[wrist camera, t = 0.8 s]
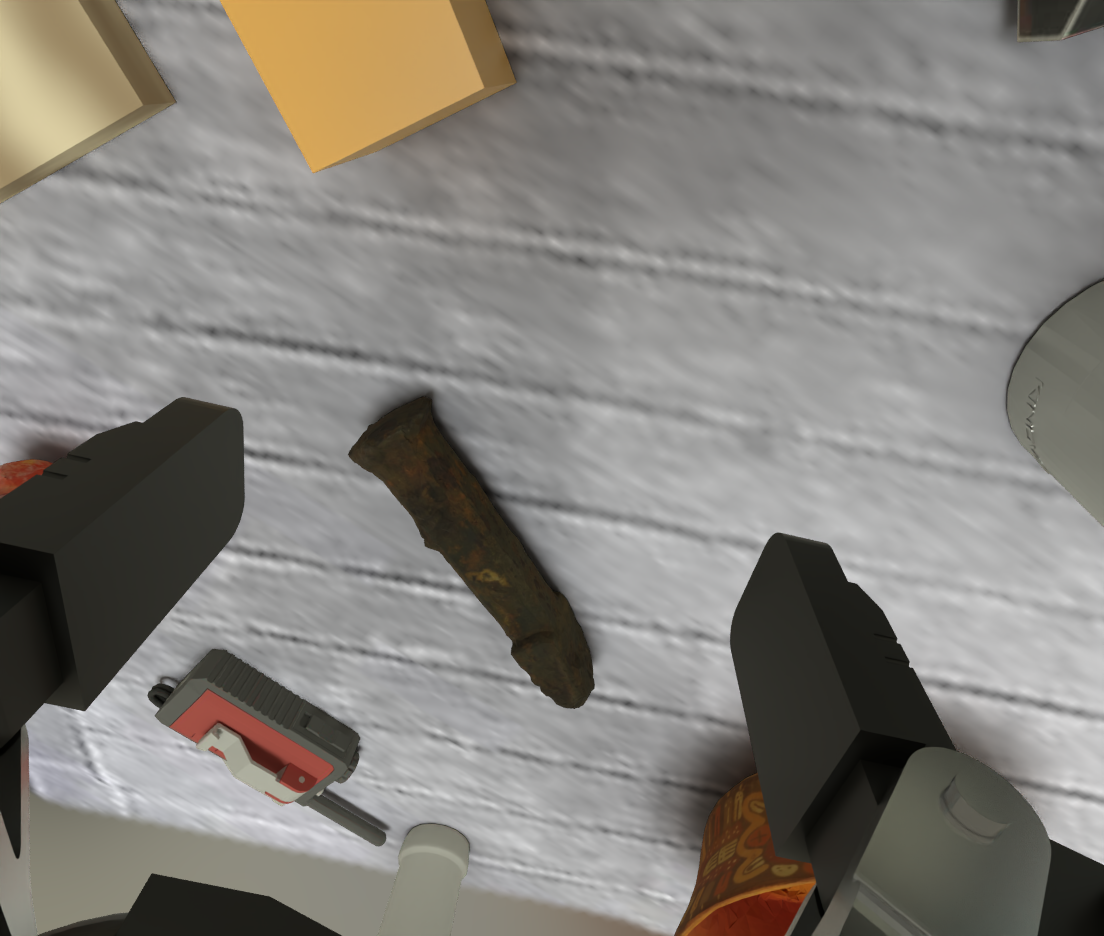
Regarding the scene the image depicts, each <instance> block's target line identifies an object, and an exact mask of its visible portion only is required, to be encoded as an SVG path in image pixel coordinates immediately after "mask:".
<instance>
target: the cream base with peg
mask: <svg viewBox="0 0 1104 936" xmlns="http://www.w3.org/2000/svg"><path fill="white" fill-rule="evenodd" d="M174 103H176V102H175V100H174V98H173V97H172V95H171V93H170V92H169V90H168V88H167V87H166V85H165V83H164V82H163V80H162V78H161V77H160V75H159V73H158V72H157V70H156V68H155V67H154V65H153V63H152V62H151V60H150V58H149V57H148V55H147V53H146V52H145V50H144V48H143V47H142V45H141V43H140V42H139V40H138V38H137V37H136V35H135V33H134V32H133V30H132V28H131V27H130V25H129V23H128V22H127V20H126V18H125V17H124V15H123V13H122V12H121V10H120V8H119V7H118V5H117V3H116V2H115V0H0V203H2V202H4V201H5V200H7V199H9V198H11V197H12V196H14V195H16V194H18V193H19V192H21V191H23V190H25V189H26V188H28V187H30V186H32V185H33V184H35V183H37V182H39V181H40V180H42V179H44V178H45V177H47V176H49V175H51V174H52V173H54V172H56V171H58V170H59V169H61V168H63V167H65V166H66V165H68V164H70V163H72V162H73V161H75V160H77V159H78V158H80V157H82V156H84V155H85V154H87V153H89V152H91V151H92V150H94V149H96V148H98V147H99V146H101V145H103V144H105V143H106V142H108V141H110V140H112V139H113V138H115V137H117V136H118V135H120V134H122V133H124V132H125V131H127V130H129V129H131V128H132V127H134V126H136V125H138V124H139V123H141V122H143V121H145V120H146V119H148V118H150V117H151V116H153V115H155V114H157V113H158V112H160V111H162V110H164V109H165V108H167V107H169V106H171V105H172V104H174Z"/></svg>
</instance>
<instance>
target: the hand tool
mask: <svg viewBox="0 0 1104 936" xmlns="http://www.w3.org/2000/svg"><path fill="white" fill-rule="evenodd" d="M431 406H432V399H430V398H426V397H421V398H418V399H416V400H414V401H413V402H411V403H408V404H406V405H403V406H401V407H399V408H397V409H395V410H393V411H392V412H390V413H388V414H387V415H385V416H384V417H382V418H381V419H380V420H378V422H376V423H375V424H371V425H369V426H368V428H367V430H366V431H365V432H364V433H363V434H362V435H361V437H360V438H359V440H358V441H357V442H356V443H355V444H354V446H353V447H352V448H351V450H350V451H349V454H348V455H349V457H350V458H351V459H352V460H353V461H354V462H355V463H357V464H358V465H360V466H361V467H362V468H363V469H365V470H367V471H368V472H372V473H373V474H374V475H375V476H376V477H378V478H379V479H380V480H382V481H383V482H384V483H385V485H386V486H387V487H388V488H389V490H390V491H391V493H392V494H393V495H394V496H395V497H396V498H397V500H398V501H399V502H400V503H401V505H403V506H404V508H405V509H406V510H407V511H408V512H409V514H410V515H411V516H412V518H413V519H414V521H415V523H416V526H417V527H418V529H419V532H420V534H421V537H422V538H424V544H425V546H426V547H427V548H430V549H433V550H436V551H439V552H440V553H441V554H442V555H443V556H444V558H445V559H446V561H447V562H448V563H449V564H450V565H451V566H452V567H453V569H454V570H455V571H456V572H457V574H458V575H459V576H460V577H461V578H462V579H463V581H464V582H465V584H466V585H467V586H468V588H469V589H470V590H471V591H472V592H473V593H474V594H475V596H476V597H477V598H478V600H479V601H480V602H481V603H482V605H483V606H484V607H485V608H486V609H487V610H488V611H489V612H490V614H491V615H492V616H493V617H494V618H495V619H496V621H497V622H498V623H499V624H500V626H501V627H502V628H503V630H504V631H505V633H506V635H507V636H508V637H509V638H510V639H511V640H512V644H513V645H512V648H511V655H512V656H513V658H514V659H515V660H516V662H517V663H518V664H519V666H520V667H521V668H522V669H524V670H525V671H526V672H527V673H528V674H529V675H530V677H531V681H532V682H533V683H534V684H535V685H537V686H540V689H541V692H542V693H544V694H545V695H546V696H549V697H551V698H552V699H553V700H554V702H555V703H556V704H557V705H559V706H562V707H564V708H570V709H572V708H573V709H575V708H580V707H581V706H582V705H584V703H585V702H586V700H587V698H588V697H589V695H590V693H591V691H592V690H593V689H594V686H595V684H594V679H593V665H592V660H591V655H590V651H589V648H588V646H587V642H586V640H585V638H584V635H583V631H582V629H581V627H580V625H579V624H578V623H577V621H576V619H575V617H574V614H573V612H572V610H571V608H570V606H569V603H568V601H567V600H566V598H565V597H564V595H563V594H561V593H560V592H556V591H552V590H551V588H550V587H549V586H548V585H547V584H546V582H545V581H544V579H543V578H542V576H541V575H540V573H539V571H538V570H537V568H536V567H535V565H534V564H533V562H532V561H531V560H530V558H529V557H528V555H527V554H526V552H525V551H524V549H523V546H522V544H521V543H520V541H519V540H518V538H517V537H516V536H515V535H514V534H513V533H512V532H511V531H510V529H509V528H508V527H507V526H506V524H505V523H504V521H503V520H502V518H501V517H500V515H499V514H498V513H497V511H496V510H495V508H494V506H493V505H492V503H491V501H490V500H489V498H488V497H487V495H486V494H485V492H484V491H483V490H482V488H481V486H480V485H479V483H478V481H477V479H476V478H475V477H474V476H473V475H472V474H471V473H470V472H469V471H468V470H467V468H466V467H465V465H464V464H463V463H462V462H461V461H460V459H459V457H458V456H457V455H456V453H455V452H454V451H453V450H452V448H451V447H450V446H449V444H448V443H447V442H446V440H445V439H444V438H443V436H442V435H441V433H440V432H439V430H438V428H437V427H436V425H435V423H434V421H433V418H432V414H431Z"/></svg>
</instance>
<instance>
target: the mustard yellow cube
mask: <svg viewBox="0 0 1104 936" xmlns="http://www.w3.org/2000/svg"><path fill="white" fill-rule="evenodd" d="M220 2H221V4H222V5H223V7H224V9H225V11H226V13H227V15H228V17H229V18H230V20H231V22H232V24H233V26H234V28H235V30H236V31H237V33H238V35H239V37H240V39H241V41H242V43H243V44H244V46H245V48H246V50H247V52H248V54H249V56H250V57H251V59H252V61H253V63H254V65H255V67H256V68H257V70H258V72H259V74H260V76H261V78H262V80H263V81H264V83H265V85H266V87H267V89H268V91H269V93H270V94H271V96H272V98H273V100H274V102H275V104H276V106H277V107H278V109H279V111H280V113H281V115H282V117H283V119H284V120H285V122H286V124H287V126H288V128H289V130H290V132H291V133H292V135H293V137H294V139H295V141H296V143H297V145H298V146H299V148H300V150H301V152H302V154H303V156H304V158H305V159H306V161H307V163H308V165H309V167H310V169H311V170H312V172H313V173H315V172H318V171H321V170H324V169H327V168H330V167H333V166H336V165H339V164H342V163H345V162H348V161H351V160H353V159H356V158H359V157H362V156H365V155H368V154H371V153H374V152H377V151H379V150H381V149H383V148H385V147H387V146H389V145H391V144H393V143H395V142H397V141H399V140H401V139H403V138H405V137H407V136H409V135H411V134H414V133H416V132H418V131H420V130H422V129H424V128H426V127H428V126H430V125H432V124H434V123H436V122H438V121H440V120H442V119H444V118H446V117H448V116H450V115H452V114H454V113H456V112H458V111H460V110H462V109H464V108H466V107H468V106H470V105H472V104H474V103H477V102H479V101H481V100H483V99H485V98H487V97H489V96H491V95H493V94H495V93H497V92H499V91H501V90H503V89H505V88H507V87H509V86H511V85H513V84H515V83H517V82H516V80H515V77H514V74H513V72H512V69H511V66H510V64H509V61H508V59H507V56H506V53H505V51H504V48H503V46H502V43H501V40H500V38H499V35H498V33H497V30H496V27H495V25H494V22H493V20H492V17H491V14H490V12H489V9H488V6H487V4H486V1H485V0H220Z"/></svg>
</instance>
